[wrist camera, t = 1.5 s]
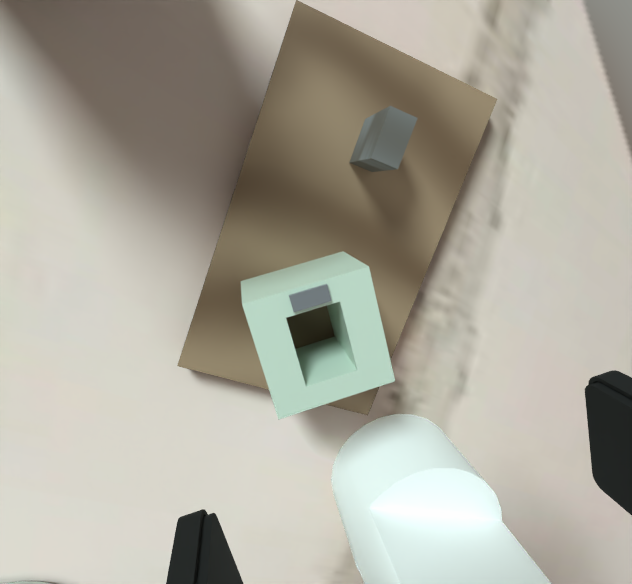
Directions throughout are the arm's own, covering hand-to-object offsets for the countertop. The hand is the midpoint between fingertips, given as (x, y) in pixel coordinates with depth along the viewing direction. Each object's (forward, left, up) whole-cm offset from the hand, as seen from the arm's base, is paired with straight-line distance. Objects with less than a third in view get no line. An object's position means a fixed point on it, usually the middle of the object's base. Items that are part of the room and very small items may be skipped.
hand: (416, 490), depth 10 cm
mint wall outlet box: (0, 0, -16) cm, 16 cm away
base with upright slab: (-10, -10, -17) cm, 22 cm away
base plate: (+5, 0, -17) cm, 18 cm away
